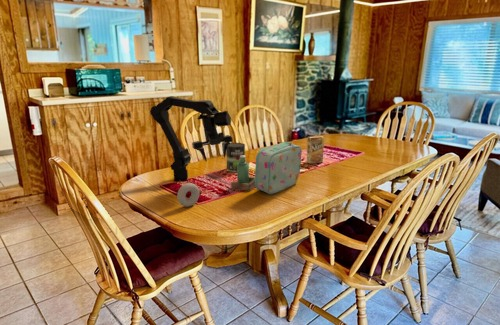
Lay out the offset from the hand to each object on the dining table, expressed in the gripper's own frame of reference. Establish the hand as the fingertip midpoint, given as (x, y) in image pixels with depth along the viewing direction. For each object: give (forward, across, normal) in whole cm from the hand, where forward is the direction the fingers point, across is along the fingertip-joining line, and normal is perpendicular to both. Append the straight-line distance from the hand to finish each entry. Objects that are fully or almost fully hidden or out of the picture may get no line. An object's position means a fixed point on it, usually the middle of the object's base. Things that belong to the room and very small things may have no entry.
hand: (215, 159), depth 169 cm
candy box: (+19, +62, +17) cm, 67 cm away
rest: (+14, +10, -7) cm, 19 cm away
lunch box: (+17, +24, -15) cm, 33 cm away
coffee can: (+12, +14, +19) cm, 27 cm away
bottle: (+13, +10, -7) cm, 18 cm away
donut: (+12, -19, -22) cm, 32 cm away
